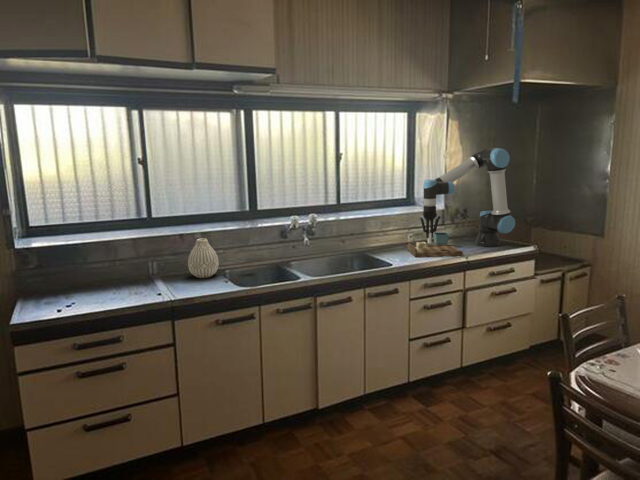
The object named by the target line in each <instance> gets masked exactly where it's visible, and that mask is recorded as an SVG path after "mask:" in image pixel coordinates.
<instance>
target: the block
mask: <svg viewBox="0 0 640 480" xmlns="http://www.w3.org/2000/svg"><path fill="white" fill-rule="evenodd" d="M427 245H428V242H427V243H426V242H425V241H416V244H415V246H416V249H417V251H418V252H423V251H426V248H427Z"/></svg>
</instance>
